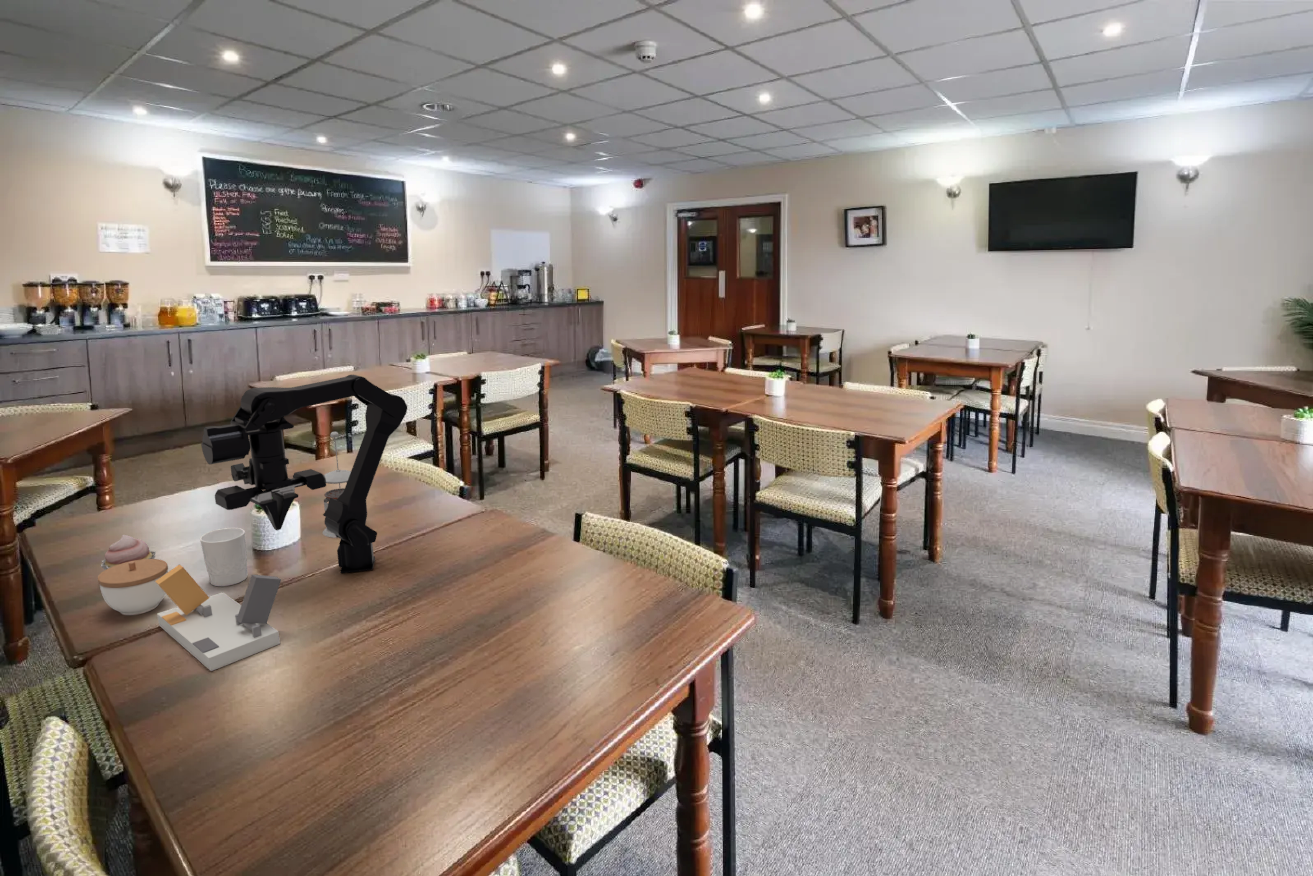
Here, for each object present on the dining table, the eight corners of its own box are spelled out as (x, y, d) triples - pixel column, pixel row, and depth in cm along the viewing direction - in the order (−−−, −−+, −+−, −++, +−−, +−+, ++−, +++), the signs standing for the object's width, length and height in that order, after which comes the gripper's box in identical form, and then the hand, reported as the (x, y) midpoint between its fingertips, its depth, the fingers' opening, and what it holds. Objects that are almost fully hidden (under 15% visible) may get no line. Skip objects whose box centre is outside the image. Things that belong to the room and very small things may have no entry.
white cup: (231, 589, 143) (224, 543, 140) (197, 585, 144) (190, 540, 142) (259, 573, 150) (253, 529, 148) (227, 569, 152) (221, 526, 149)
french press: (313, 535, 170) (302, 435, 164) (342, 518, 181) (332, 424, 175) (350, 539, 169) (340, 438, 163) (377, 521, 180) (368, 426, 174)
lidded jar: (133, 593, 141) (125, 550, 138) (186, 595, 140) (179, 551, 138) (90, 620, 130) (80, 574, 128) (147, 622, 130) (138, 575, 128)
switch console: (224, 603, 137) (221, 583, 136) (280, 643, 124) (277, 621, 122) (159, 625, 129) (155, 604, 128) (210, 671, 115) (207, 648, 114)
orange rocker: (205, 596, 132) (175, 561, 127) (217, 605, 129) (186, 569, 124) (182, 613, 130) (151, 578, 125) (194, 622, 127) (162, 587, 122)
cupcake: (133, 568, 152) (125, 524, 149) (170, 572, 150) (163, 528, 147) (92, 587, 143) (82, 541, 140) (130, 592, 141) (122, 545, 139)
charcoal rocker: (255, 624, 127) (272, 574, 128) (268, 633, 124) (285, 582, 124) (230, 623, 123) (247, 571, 124) (243, 633, 120) (260, 580, 121)
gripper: (296, 437, 148) (304, 508, 152) (197, 456, 134) (209, 533, 138) (323, 447, 141) (331, 520, 145) (222, 467, 127) (233, 547, 131)
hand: (277, 529), depth 140 cm, fingers closed
